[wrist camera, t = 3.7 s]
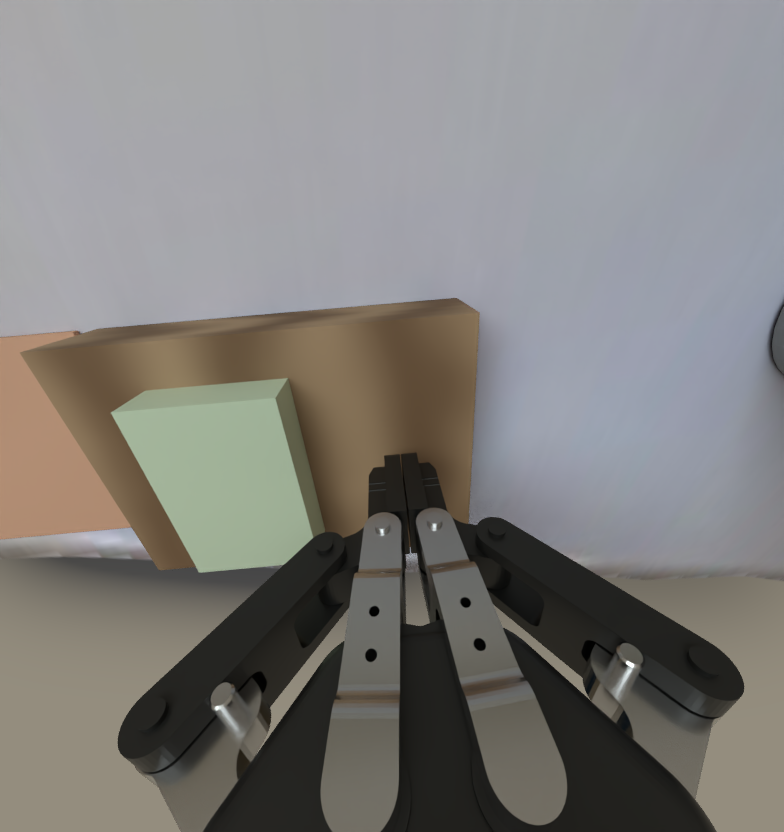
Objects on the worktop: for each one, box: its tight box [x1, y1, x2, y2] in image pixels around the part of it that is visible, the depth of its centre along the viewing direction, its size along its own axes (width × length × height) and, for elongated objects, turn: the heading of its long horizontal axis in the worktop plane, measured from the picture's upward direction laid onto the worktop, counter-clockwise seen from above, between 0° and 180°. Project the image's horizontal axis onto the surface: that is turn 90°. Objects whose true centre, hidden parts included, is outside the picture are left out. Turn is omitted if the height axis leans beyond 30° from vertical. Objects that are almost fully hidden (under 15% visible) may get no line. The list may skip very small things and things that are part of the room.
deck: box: [20, 298, 480, 570], centre depth 17 cm, size 18×13×4 cm
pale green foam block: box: [111, 378, 325, 572], centre depth 15 cm, size 6×9×2 cm, turn 4°
